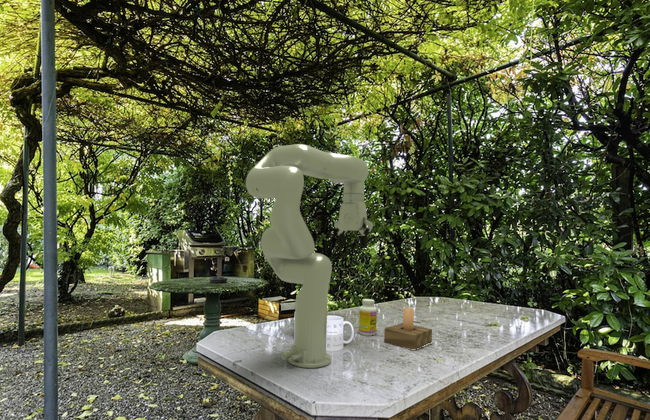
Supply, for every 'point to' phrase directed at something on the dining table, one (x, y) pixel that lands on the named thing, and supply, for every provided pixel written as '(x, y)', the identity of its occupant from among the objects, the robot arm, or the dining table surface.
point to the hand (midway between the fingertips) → (352, 246)
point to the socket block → (407, 336)
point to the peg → (408, 319)
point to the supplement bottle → (367, 318)
